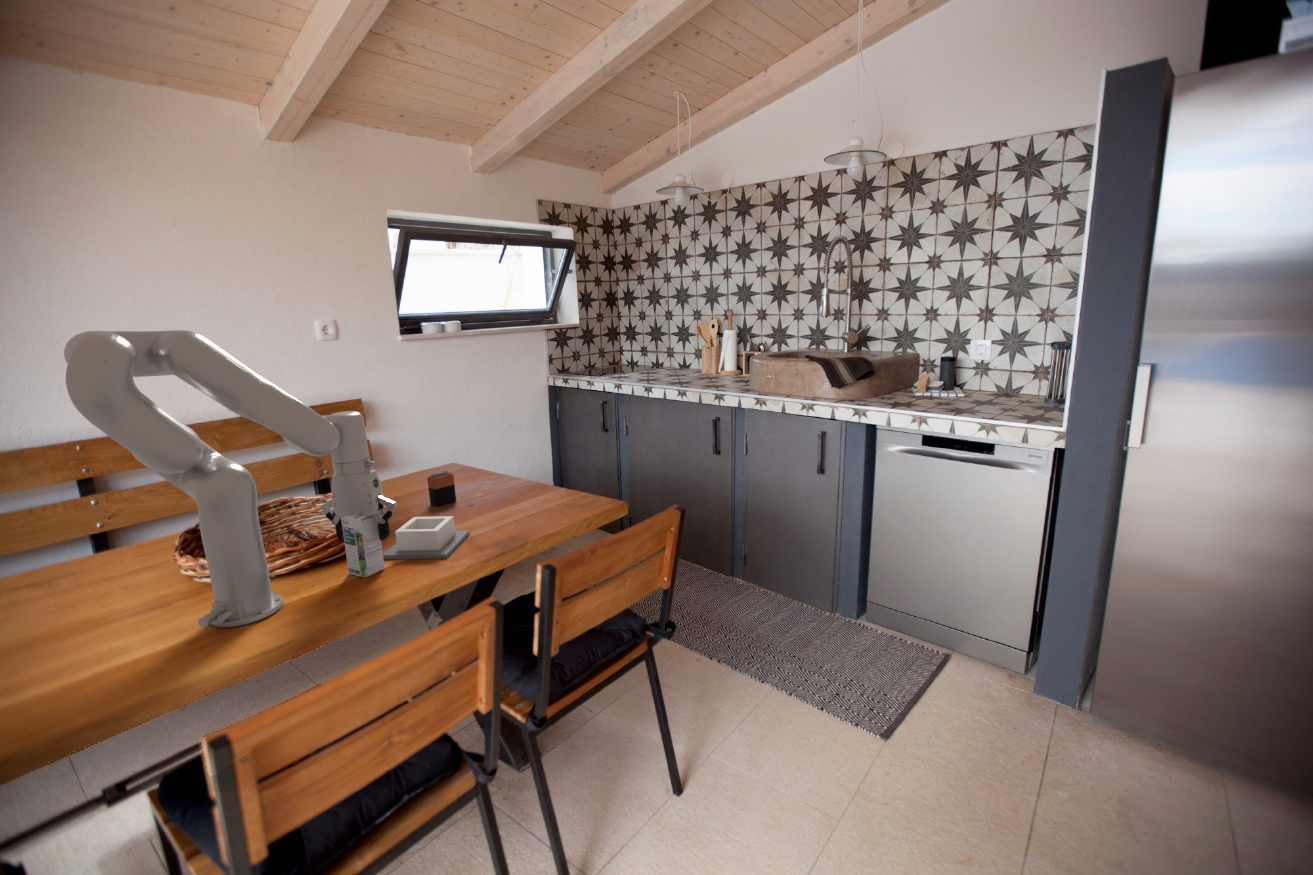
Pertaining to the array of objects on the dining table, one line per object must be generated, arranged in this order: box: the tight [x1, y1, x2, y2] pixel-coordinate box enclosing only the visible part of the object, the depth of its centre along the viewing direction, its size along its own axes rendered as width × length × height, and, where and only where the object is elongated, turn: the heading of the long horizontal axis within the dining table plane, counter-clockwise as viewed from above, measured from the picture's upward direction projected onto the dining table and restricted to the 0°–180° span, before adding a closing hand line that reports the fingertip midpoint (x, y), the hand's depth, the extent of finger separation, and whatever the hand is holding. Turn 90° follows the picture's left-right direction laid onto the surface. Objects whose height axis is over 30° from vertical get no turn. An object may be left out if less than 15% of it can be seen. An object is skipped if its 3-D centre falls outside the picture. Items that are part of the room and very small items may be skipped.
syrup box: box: [341, 515, 385, 579], centre depth 140 cm, size 6×6×14 cm
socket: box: [383, 515, 470, 560], centre depth 155 cm, size 16×16×6 cm
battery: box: [426, 470, 457, 508], centre depth 189 cm, size 4×7×10 cm, turn 137°
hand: (364, 538), depth 140 cm, fingers open, 9 cm apart
